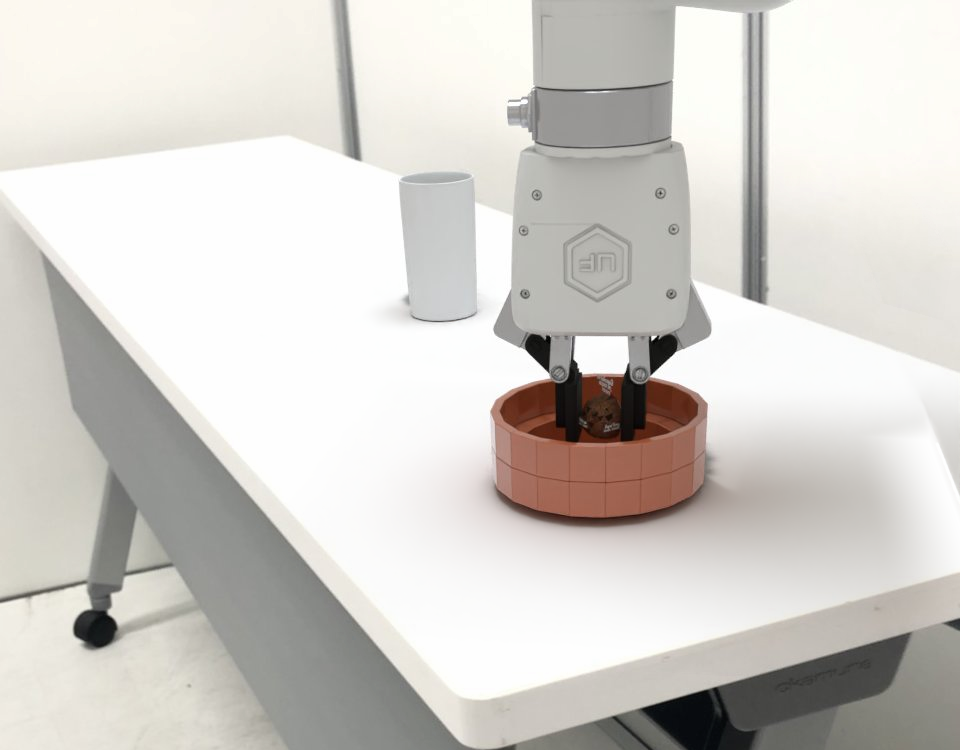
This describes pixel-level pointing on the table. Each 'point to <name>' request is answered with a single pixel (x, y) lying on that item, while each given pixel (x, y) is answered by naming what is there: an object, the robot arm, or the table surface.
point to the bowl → (598, 452)
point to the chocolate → (602, 414)
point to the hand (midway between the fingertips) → (601, 436)
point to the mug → (440, 243)
